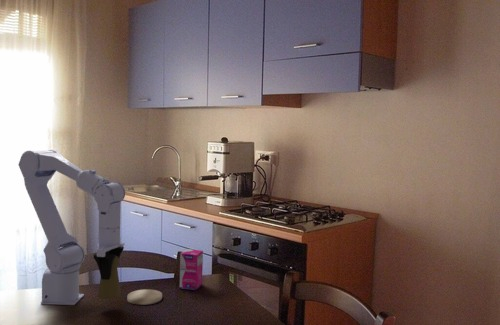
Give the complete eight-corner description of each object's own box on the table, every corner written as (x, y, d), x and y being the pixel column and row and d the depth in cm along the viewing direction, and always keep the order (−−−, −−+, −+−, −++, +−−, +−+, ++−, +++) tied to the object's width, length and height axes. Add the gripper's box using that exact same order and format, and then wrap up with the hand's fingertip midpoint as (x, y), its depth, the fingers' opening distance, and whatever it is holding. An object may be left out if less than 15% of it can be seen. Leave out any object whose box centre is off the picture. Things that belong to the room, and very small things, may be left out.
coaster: (123, 304, 133) (123, 300, 133) (132, 292, 143) (132, 288, 143) (158, 305, 133) (158, 301, 133) (165, 293, 143) (165, 289, 143)
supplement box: (178, 289, 147) (179, 253, 146) (185, 283, 153) (186, 248, 152) (196, 291, 146) (197, 254, 145) (202, 285, 151) (203, 250, 151)
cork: (114, 299, 125) (114, 258, 125) (93, 298, 126) (93, 257, 126) (124, 292, 131) (124, 253, 131) (104, 291, 132) (104, 252, 132)
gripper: (116, 233, 121) (115, 285, 121) (131, 222, 135) (130, 268, 136) (88, 232, 121) (88, 284, 122) (106, 221, 135) (106, 267, 136)
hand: (108, 275), depth 129 cm, fingers closed on cork, 5 cm apart
